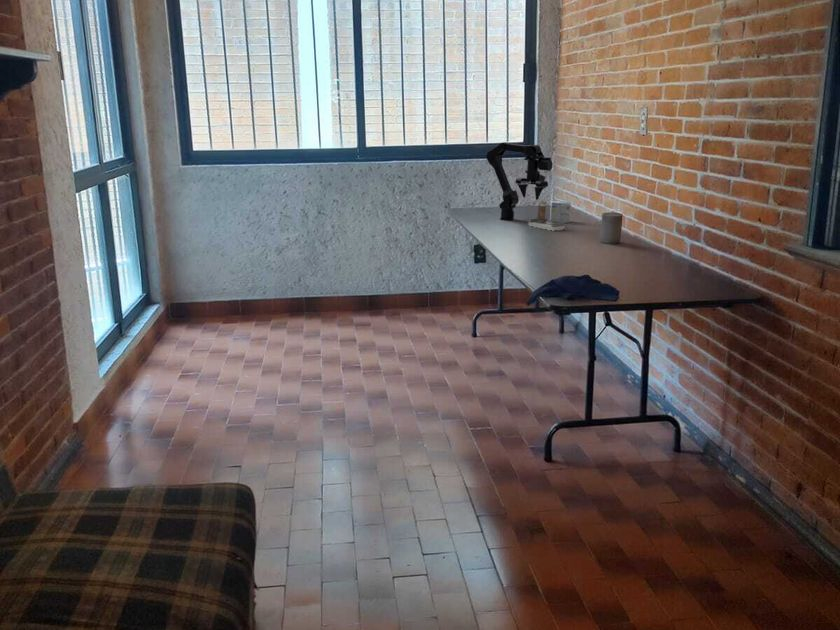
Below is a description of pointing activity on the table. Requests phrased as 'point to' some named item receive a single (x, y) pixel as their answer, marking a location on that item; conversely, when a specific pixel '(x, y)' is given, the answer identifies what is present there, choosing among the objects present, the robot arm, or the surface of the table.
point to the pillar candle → (611, 228)
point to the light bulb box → (560, 211)
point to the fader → (541, 212)
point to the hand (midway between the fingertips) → (530, 198)
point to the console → (547, 225)
